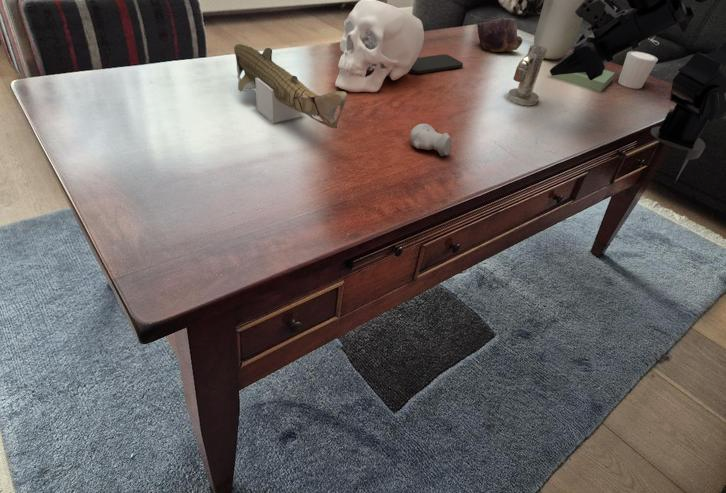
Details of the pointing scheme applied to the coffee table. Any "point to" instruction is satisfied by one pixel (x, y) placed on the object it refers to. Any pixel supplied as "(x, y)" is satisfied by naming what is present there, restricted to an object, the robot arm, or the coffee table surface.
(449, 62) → the phone
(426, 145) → the smooth white sculpture
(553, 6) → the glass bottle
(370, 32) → the skull planter
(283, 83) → the wood carving
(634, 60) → the shot glass
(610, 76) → the push button box
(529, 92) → the faucet
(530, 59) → the spout
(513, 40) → the rock
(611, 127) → the coffee table surface
